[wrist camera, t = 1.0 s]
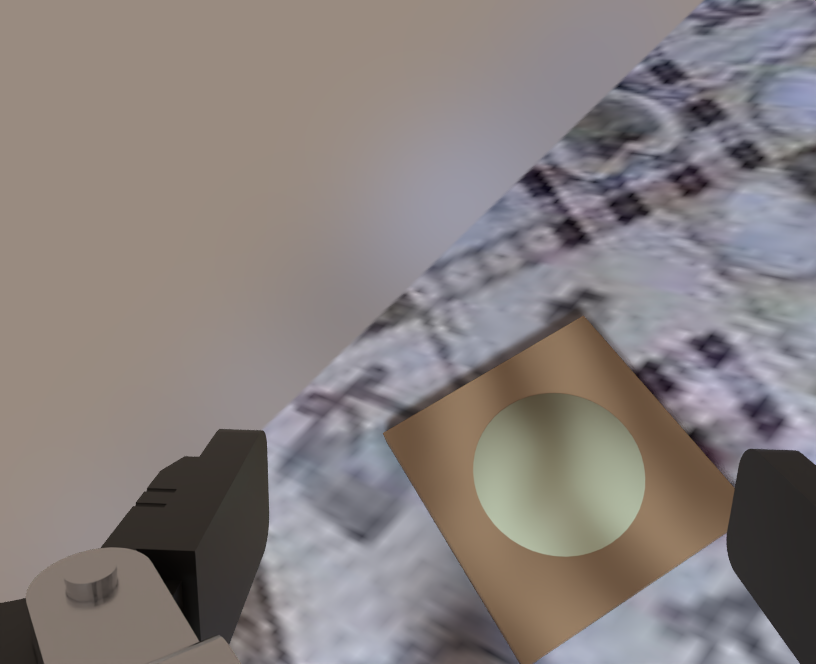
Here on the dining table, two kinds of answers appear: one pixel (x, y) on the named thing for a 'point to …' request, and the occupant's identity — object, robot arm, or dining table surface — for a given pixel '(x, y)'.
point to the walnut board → (561, 486)
